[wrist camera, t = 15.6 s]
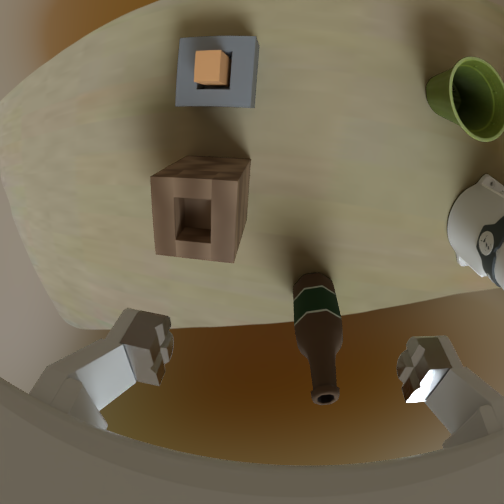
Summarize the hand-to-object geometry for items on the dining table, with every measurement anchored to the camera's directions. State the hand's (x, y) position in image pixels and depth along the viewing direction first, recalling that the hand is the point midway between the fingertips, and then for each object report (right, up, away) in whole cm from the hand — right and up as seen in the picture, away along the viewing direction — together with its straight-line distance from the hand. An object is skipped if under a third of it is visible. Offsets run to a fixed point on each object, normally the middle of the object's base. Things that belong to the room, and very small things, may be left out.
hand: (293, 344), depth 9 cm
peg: (-6, +28, +26) cm, 38 cm away
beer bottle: (+10, -4, +43) cm, 45 cm away
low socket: (-6, +29, +28) cm, 40 cm away
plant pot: (+29, +28, +25) cm, 47 cm away
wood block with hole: (-7, +13, +36) cm, 39 cm away
